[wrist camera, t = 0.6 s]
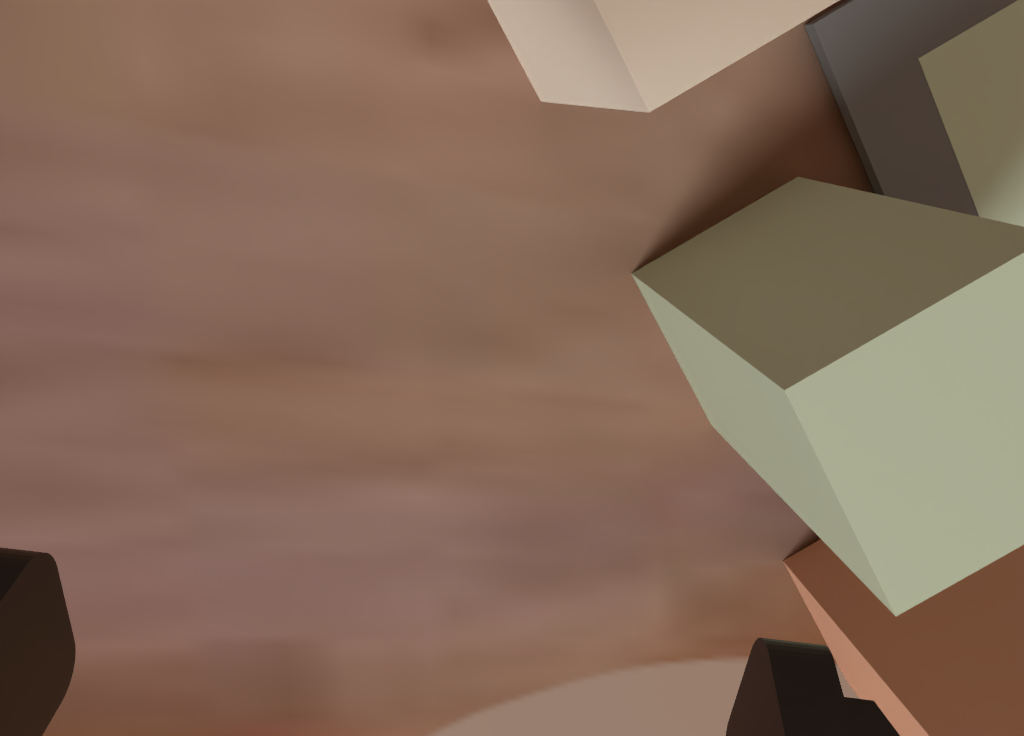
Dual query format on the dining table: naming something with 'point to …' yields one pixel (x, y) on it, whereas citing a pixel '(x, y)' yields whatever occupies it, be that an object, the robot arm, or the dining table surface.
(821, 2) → the cream block
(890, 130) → the slate mat
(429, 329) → the dining table surface
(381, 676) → the dining table surface
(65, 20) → the dining table surface
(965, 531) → the sage block
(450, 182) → the dining table surface
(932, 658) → the terracotta block
